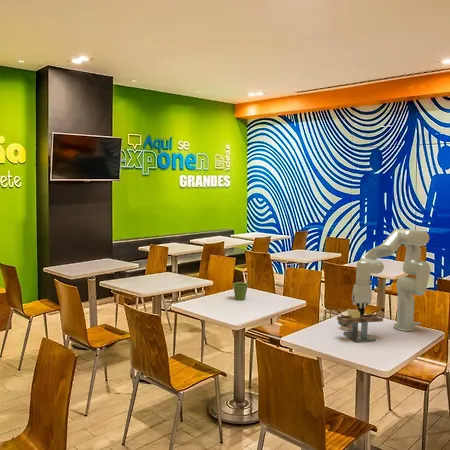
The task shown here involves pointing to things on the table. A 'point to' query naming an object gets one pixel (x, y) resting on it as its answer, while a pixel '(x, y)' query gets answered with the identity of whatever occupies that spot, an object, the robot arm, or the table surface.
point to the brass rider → (353, 314)
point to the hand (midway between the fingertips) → (361, 314)
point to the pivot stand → (359, 333)
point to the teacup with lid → (349, 323)
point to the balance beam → (369, 318)
